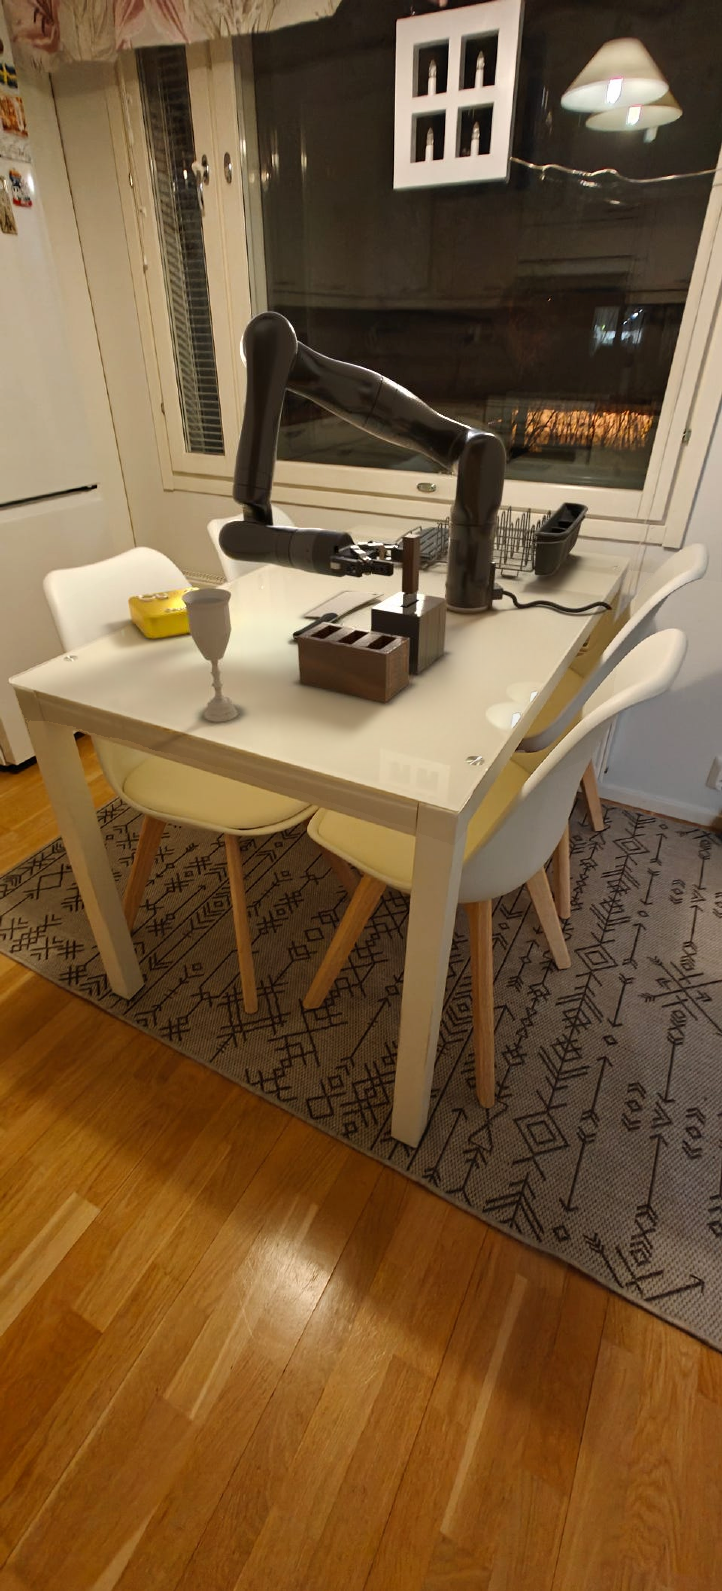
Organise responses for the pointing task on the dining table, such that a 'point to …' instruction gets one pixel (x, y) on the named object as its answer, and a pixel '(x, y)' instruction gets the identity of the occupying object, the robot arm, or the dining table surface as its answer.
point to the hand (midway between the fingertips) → (404, 563)
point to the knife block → (414, 626)
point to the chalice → (211, 641)
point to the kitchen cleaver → (337, 608)
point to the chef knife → (410, 569)
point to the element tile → (160, 613)
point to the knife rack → (354, 661)
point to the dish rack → (549, 544)
